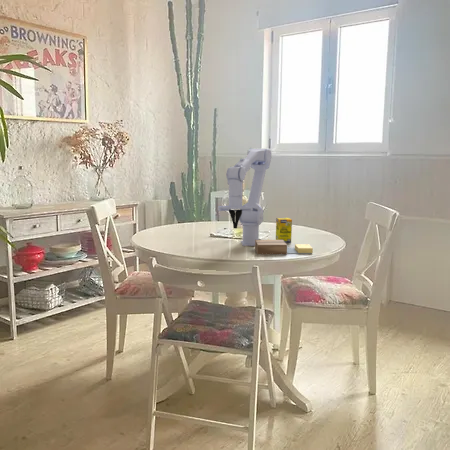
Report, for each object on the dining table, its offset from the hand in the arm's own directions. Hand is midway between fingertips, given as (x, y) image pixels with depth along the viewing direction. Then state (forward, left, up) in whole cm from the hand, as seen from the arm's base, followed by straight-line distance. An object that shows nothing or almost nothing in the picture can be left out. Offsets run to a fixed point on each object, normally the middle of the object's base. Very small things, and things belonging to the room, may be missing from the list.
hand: (235, 228), depth 203 cm
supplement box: (-20, +24, -10) cm, 33 cm away
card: (+1, +29, -8) cm, 30 cm away
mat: (0, +27, -10) cm, 28 cm away
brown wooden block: (+1, +15, -10) cm, 18 cm away
